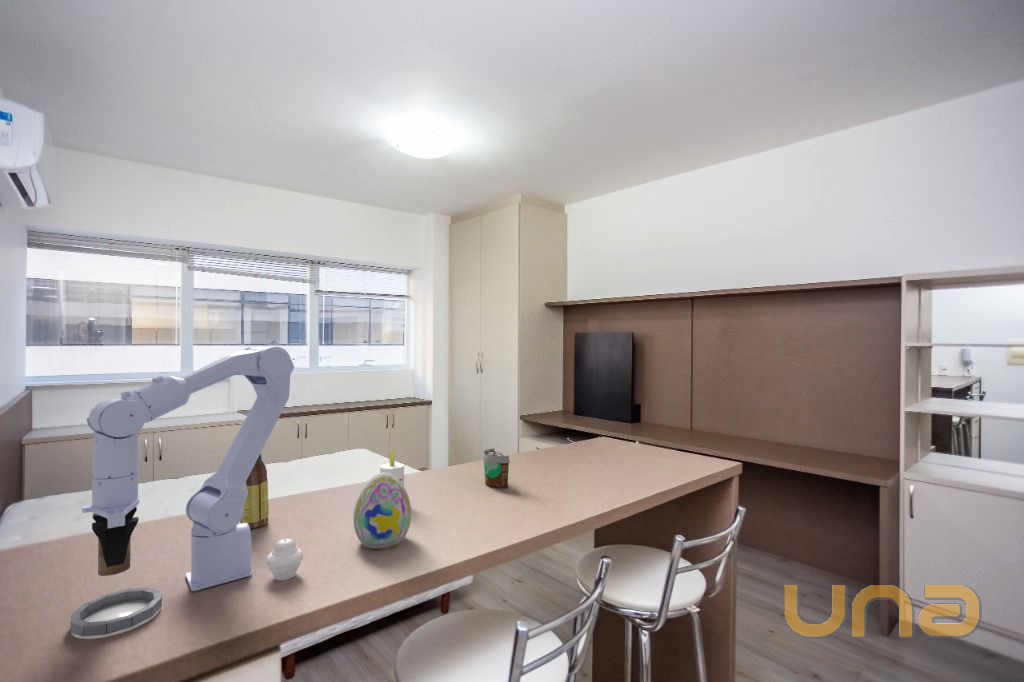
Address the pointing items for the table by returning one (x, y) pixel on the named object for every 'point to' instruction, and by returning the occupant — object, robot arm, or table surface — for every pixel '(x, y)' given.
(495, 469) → the food container
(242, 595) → the table surface
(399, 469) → the candle
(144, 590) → the ring dish
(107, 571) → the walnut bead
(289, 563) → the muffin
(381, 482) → the decorative egg
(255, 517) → the sauce bottle
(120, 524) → the robot arm
